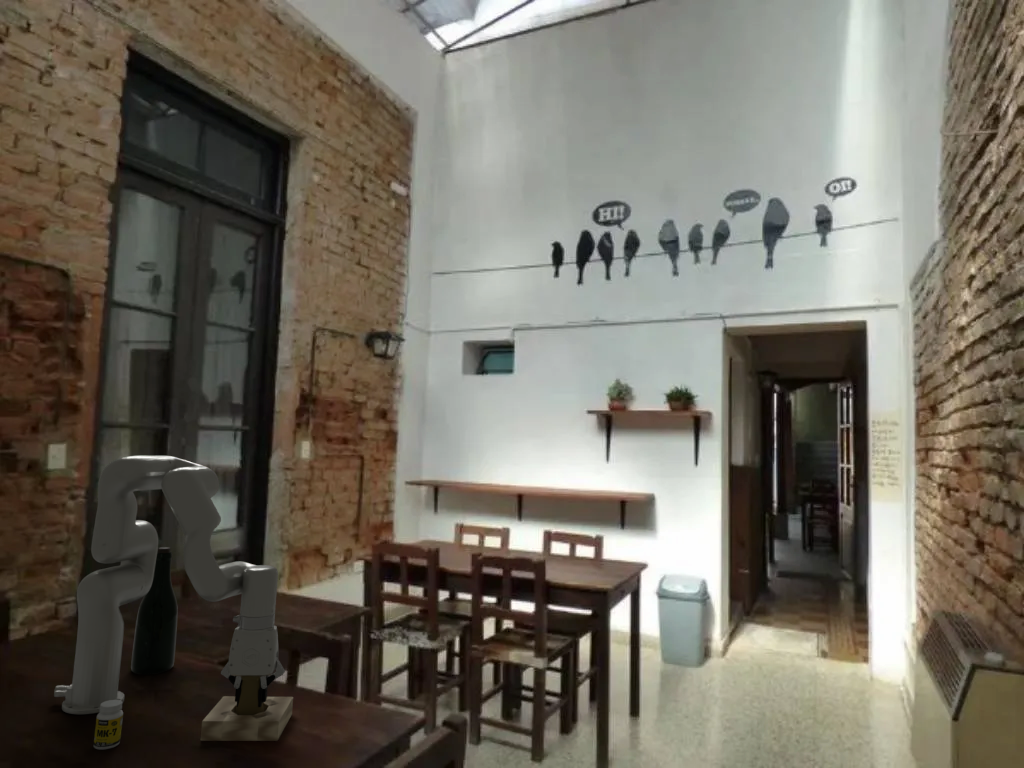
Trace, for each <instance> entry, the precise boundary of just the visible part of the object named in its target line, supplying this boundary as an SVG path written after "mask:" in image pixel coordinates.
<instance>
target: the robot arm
mask: <svg viewBox="0 0 1024 768" xmlns="http://www.w3.org/2000/svg"><path fill="white" fill-rule="evenodd" d="M219 480H220V479H219V477H218V475H217V474H216V472H215V470H213V469H212V468H209V467H208V466H205V465H202V464H199V463H196V462H191V461H190V460H186V459H182V458H179V457H177V456H173V455H172V456H171V455H150V454H149V455H144V454H143V455H127V456H123V457H119V458H116V459H115V460H113V461H111V462H109V463H108V464H107V465H106V466H105V467H104V468H103V470H102V471H101V474H100V476H99V480H98V486H97V494H98V495H97V509H96V514H95V521H94V527H93V533H92V539H91V546H90V547H91V548H90V549H91V551H90V552H91V556H92V558H93V559H94V560H95V561H96V562H97V563H100V564H115V563H120V565H115V566H111V567H107V568H102V569H101V568H100V569H97V570H94V571H93V572H90V573H89V574H87V575H86V576H84V577H83V578H82V580H81V581H80V582H79V584H78V586H77V590H76V601H77V603H76V604H77V609H78V611H77V612H78V614H77V616H78V625H77V634H76V644H75V653H74V654H75V656H74V663H73V673H72V680H71V681H72V683H71V684H70V685H65V684H61V685H59V684H58V685H56V686H55V688H54V690H53V691H54V694H53V696H54V697H55V698H64V699H65V700H63V702H62V703H61V711H63V712H65V713H66V714H70V715H92V714H99V713H100V712H99V711H100V704H101V703H103V702H105V701H108V700H121V701H122V704H124V702H125V697H126V696H125V694H124V692H122V691H120V690H119V684H120V682H119V680H120V671H121V662H122V656H123V655H122V652H123V644H124V643H123V642H124V631H125V622H124V618H123V615H122V612H121V609H120V606H123V605H126V604H128V603H132V602H136V601H138V600H141V599H143V598H144V596H145V595H146V594H147V593H148V592H149V590H150V588H151V585H152V582H153V577H154V570H155V564H156V557H157V550H158V548H159V535H158V532H157V530H156V528H155V526H154V525H153V524H152V523H151V522H149V521H146V520H142V519H137V514H138V501H137V498H136V495H135V493H134V492H137V491H138V492H139V491H153V490H154V491H156V490H162V492H163V495H164V498H165V499H166V501H167V504H168V505H169V507H170V509H171V511H172V513H173V515H174V516H175V519H176V520H177V522H178V524H179V526H180V528H181V531H182V532H183V535H184V542H183V551H182V553H183V554H182V555H183V559H182V560H183V566H184V570H185V573H186V575H187V577H188V578H189V581H190V583H191V585H192V586H193V588H194V590H195V591H196V593H197V595H199V596H200V598H202V599H203V600H205V601H207V602H211V603H213V602H219V601H222V600H225V599H228V598H231V597H235V596H238V595H241V600H240V610H239V611H240V612H239V614H238V615H234V616H233V618H232V623H236V624H238V625H237V627H236V628H235V629H234V632H233V635H232V639H231V643H230V644H231V645H230V647H229V648H230V649H229V655H228V661H227V663H226V664H225V665H224V666H223V668H222V670H221V671H220V675H222V676H223V677H225V678H226V679H228V681H229V682H230V683H231V684H232V685H233V688H234V689H235V694H234V696H235V702H237V707H238V704H239V699H240V695H241V685H242V679H241V676H261V677H260V679H261V686H260V689H259V691H258V707H261V706H262V703H264V702H265V701H266V699H267V697H268V686H269V685H270V684H272V683H273V682H274V681H275V680H277V679H279V678H280V677H282V676H283V675H284V674H285V671H286V670H285V668H284V667H283V665H282V663H281V661H280V660H279V635H278V628H277V625H275V619H276V618H275V617H276V605H277V591H278V579H279V578H278V577H279V570H278V569H277V568H276V567H275V566H273V565H265V564H260V565H256V564H252V563H249V562H246V561H242V560H241V561H239V560H238V561H237V560H236V561H233V562H232V561H231V562H228V563H224V564H220V565H219V564H218V561H217V560H216V558H215V556H214V554H213V550H212V547H211V538H212V535H213V533H214V531H215V530H216V529H217V528H218V526H220V524H221V521H222V517H221V515H220V513H219V512H218V509H217V508H216V506H215V504H214V502H213V500H212V498H213V497H214V496H215V495H216V494H217V493H218V491H219V487H220V481H219Z"/></svg>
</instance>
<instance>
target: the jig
mask: <svg viewBox="0 0 1024 768" xmlns="http://www.w3.org/2000/svg"><path fill="white" fill-rule="evenodd" d="M293 704H294V697H293V696H267V699H266V701H265V702H264V703H263V712H261V713H258V714H255V715H237V714H235V712H236V708H237V702H235V695H234V696H233V695H232V696H228V695H227V696H226V695H225V696H224V695H223V696H222V697H221V699H220V700H219V701H218V702H217V703H216V705H215V706H213V708H212V709H211V710H210V711H209V713H208V714H207V715H206V716H205V717H204V718H203V720H202V721H201V732H200V740H199V741H201V742H204V741H205V742H206V741H210V742H211V741H212V742H217V741H220V742H222V741H223V742H225V741H226V742H229V741H230V742H231V741H233V742H238V741H241V742H242V741H243V742H244V741H247V742H250V741H253V742H257V741H260V742H265V741H266V742H268V741H269V742H274V741H275V742H277V741H278V740H279V739H280V738H281V735H282V734H283V731H284V730H285V728H286V726H287V724H288V722H289V721H290V718H291V717H292V716H293V707H294V706H293Z"/></svg>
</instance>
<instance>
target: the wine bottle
mask: <svg viewBox="0 0 1024 768" xmlns="http://www.w3.org/2000/svg"><path fill="white" fill-rule="evenodd" d="M172 558H173V553H172V550H171V547H170V546H161V547H158V550H157V557H156V564H155V570H154V577H153V582H152V585H151V588H150V590H149V592H148V593H147V594H146V595H145V596H144V597H142V600H141V602H140V604H139V607H138V612H137V616H136V621H135V630H134V639H133V646H132V655H131V665H130V668H131V672H133V673H134V674H138V675H145V676H146V675H156V674H161V673H164V672H168V671H169V670H171V669H172V668H173V667H174V663H175V657H176V656H175V654H176V646H177V645H176V643H177V632H178V631H177V630H178V629H177V627H178V611H179V610H178V609H179V608H178V602H177V598H176V595H175V594H176V593H175V591H174V588H173V585H172V577H171V574H172V573H171V570H172V569H171V568H172Z"/></svg>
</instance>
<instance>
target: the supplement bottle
mask: <svg viewBox="0 0 1024 768" xmlns="http://www.w3.org/2000/svg"><path fill="white" fill-rule="evenodd" d="M122 709H123V703H122V701H121V700H108V701H105V702H103V703H101V704H100V711H99V713H97V715H96V719H95V729H94V739H93V748H94V749H96V750H100V751H101V750H102V751H103V750H109V749H113V748H115V747H117V746H118V745H120V743H121V737H122V730H123V729H122V728H123V718H124V712H123V710H122Z"/></svg>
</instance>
